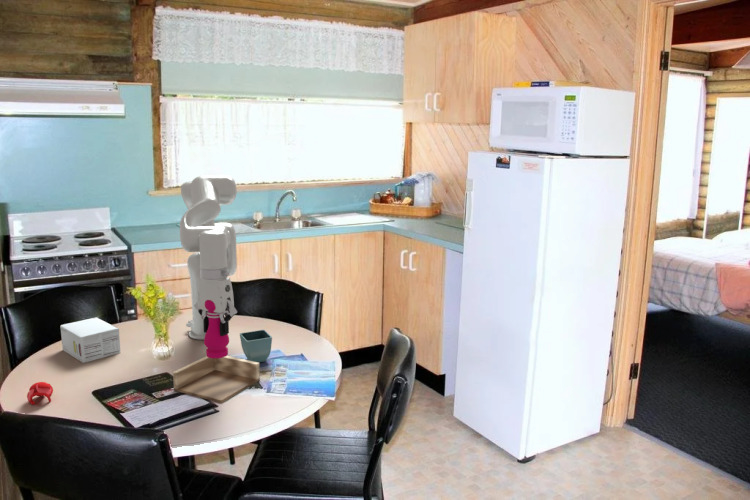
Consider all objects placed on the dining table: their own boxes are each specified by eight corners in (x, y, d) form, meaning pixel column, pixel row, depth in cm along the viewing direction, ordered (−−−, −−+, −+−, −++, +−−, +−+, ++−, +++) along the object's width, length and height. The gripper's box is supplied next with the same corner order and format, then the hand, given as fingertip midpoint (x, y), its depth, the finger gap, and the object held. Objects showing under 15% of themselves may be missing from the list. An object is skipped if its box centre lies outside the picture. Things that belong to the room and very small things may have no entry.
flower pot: (247, 367, 205) (246, 341, 204) (239, 358, 213) (239, 332, 211) (273, 362, 209) (272, 337, 208) (264, 354, 217) (264, 329, 215)
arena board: (173, 390, 187) (173, 387, 187) (214, 369, 203) (214, 367, 203) (221, 402, 179) (221, 400, 179) (259, 380, 195) (259, 377, 195)
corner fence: (173, 387, 187) (172, 372, 186) (214, 367, 203) (213, 352, 202) (221, 400, 179) (220, 383, 178) (259, 377, 195) (259, 362, 194)
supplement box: (61, 350, 218) (59, 325, 216) (99, 341, 227) (97, 316, 226) (82, 363, 207) (80, 336, 205) (121, 353, 216) (119, 327, 214)
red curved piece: (55, 393, 176) (56, 376, 180) (32, 391, 173) (33, 374, 177) (47, 410, 180) (48, 393, 184) (24, 408, 177) (25, 391, 181)
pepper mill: (231, 350, 190) (229, 286, 186) (227, 359, 183) (225, 292, 179) (207, 350, 189) (204, 286, 185) (202, 359, 182) (199, 293, 178)
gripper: (246, 274, 181) (247, 334, 184) (200, 267, 188) (202, 325, 192) (229, 279, 174) (231, 341, 178) (182, 272, 182) (185, 332, 185)
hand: (216, 332), depth 185 cm, fingers closed on pepper mill, 5 cm apart
